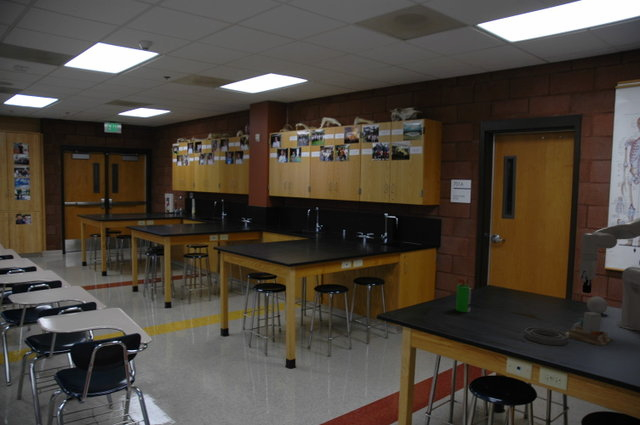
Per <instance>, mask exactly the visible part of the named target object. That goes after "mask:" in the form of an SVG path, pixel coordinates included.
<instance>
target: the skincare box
mask: <svg viewBox="0 0 640 425" xmlns="http://www.w3.org/2000/svg"><path fill="white" fill-rule="evenodd" d="M601 318H602V313H601V314H599V313H596V312H591V311H587V312H586V311H585V312H583V319H584V323H583V332H584V333H588V334H593V335H597V336H599V333H600V331H601V320H602V319H601Z"/></svg>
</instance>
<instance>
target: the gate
mask: <svg viewBox="0 0 640 425" xmlns="http://www.w3.org/2000/svg"><path fill="white" fill-rule="evenodd" d="M583 323H584V317H583V318H582V317H579V318H578V322H576V323H574V324H572V327H571V328H572V329H571V330H576V326H580V327H583Z"/></svg>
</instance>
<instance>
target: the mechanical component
mask: <svg viewBox="0 0 640 425" xmlns="http://www.w3.org/2000/svg"><path fill="white" fill-rule="evenodd" d="M565 333H566V332H563V331H561V330H558V329H554V328H550V327H549V328H548V327H541V326H531V327H530V326H529V327H526V328H525V329H524V337H525V338H526V339H528V340H530V341H532V342H535V343H540V344H543V345H550V346H561V345H562V346H564V345H567V344H568V339H569V338H568V335H566V334H565Z"/></svg>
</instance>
